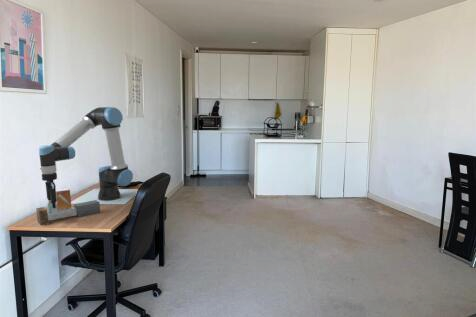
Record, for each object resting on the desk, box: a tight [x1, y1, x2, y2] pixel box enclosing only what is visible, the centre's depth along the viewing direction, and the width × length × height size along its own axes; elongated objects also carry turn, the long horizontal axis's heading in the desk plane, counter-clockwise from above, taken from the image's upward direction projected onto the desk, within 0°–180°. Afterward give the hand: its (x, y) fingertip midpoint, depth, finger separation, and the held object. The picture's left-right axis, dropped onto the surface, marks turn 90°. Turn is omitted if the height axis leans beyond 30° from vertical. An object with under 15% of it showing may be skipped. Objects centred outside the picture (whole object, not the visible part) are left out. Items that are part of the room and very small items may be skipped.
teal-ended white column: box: [47, 203, 78, 221], centre depth 204 cm, size 19×5×9 cm, turn 130°
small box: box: [56, 187, 72, 210], centre depth 223 cm, size 8×6×13 cm
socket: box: [35, 206, 49, 226], centre depth 198 cm, size 4×8×8 cm, turn 40°
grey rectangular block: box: [73, 199, 101, 218], centre depth 213 cm, size 13×7×7 cm, turn 130°
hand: (53, 212), depth 201 cm, fingers closed on teal-ended white column, 5 cm apart
